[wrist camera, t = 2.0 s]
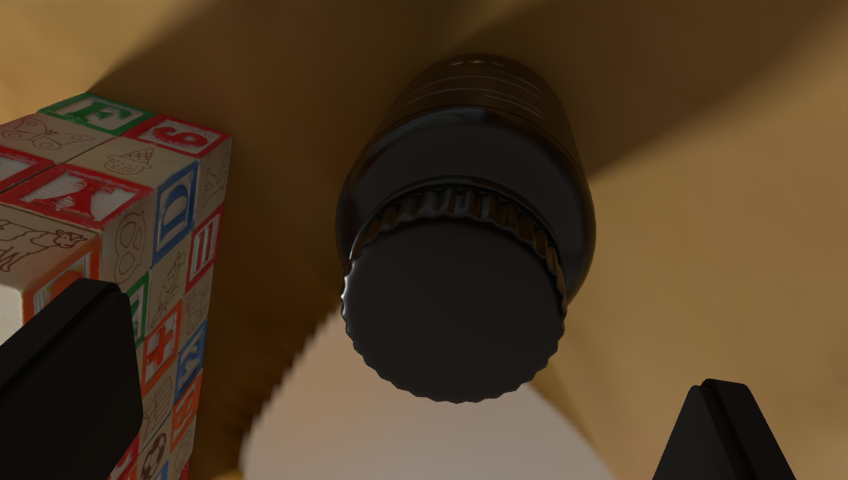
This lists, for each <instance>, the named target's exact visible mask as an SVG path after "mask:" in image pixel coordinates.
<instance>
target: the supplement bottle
mask: <svg viewBox="0 0 848 480" xmlns="http://www.w3.org/2000/svg"><path fill="white" fill-rule="evenodd" d="M335 232H336V243H337V248H338V253H339V256H340V259H341V263H342V266H343V268H344V270H345V271H344V274H343V280H344V284H343V286H342V288H341V290H340V298H341V301H342V303H343V305H342V309H341V315H342V317H343V319H344V320H345V322H346V333H347V334H348V336H349V337H350V338H351V339H352V340H353V346H354V349H355V350H356V351H357V352H358V353H359V354H360V355H362V356H363V358H364V361H365V363H366V365H368V366H369V367H371V368H373V369H374V370H376V372H377V373H378V375H379V376H380V378H382V379H385V380H387V381H390V382H391V383H392V384H393V385H394V386H395V387H396V388H398V389H401V390H406V391H409V392H410V393H412V394H413V395H414V396H416V397H427V398H429V399H431V400H433V401H435V402H441V401H449V402H452V403H455V404H458V403H463V402H466V401H468V402H475V403H477V402H480V401H482V400H484V399H489V398H491V399H492V398H493V399H494V398H498V397H500V396H501V395H502V394H504V393H507V392H512V391H516V390H517V389H518V388H519V387H520V385H521V384H523V383H526V382H529V381H531V380H532V379H533V378H534V376H535V374H536V372H538V371H540V370H542V369H544V368H545V367H546V366H547V363H548V359H549V358H550V357H551V356H552V355H554V354H555V353H556V352H557V350H558V341H559V340H560V339H561V337H562V336H563V334H564V332H565V324H564V319H565V317H566V314H567V306H568V305H569V304H570V303H571V301H572V300H573V299H574V297H575V296H576V295H577V293H578V292H579V290H580V288H581V287H582V285H583V283H584V281H585V279H586V277H587V274H588V272H589V269H590V266H591V263H592V260H593V255H594V251H595V243H596V220H595V212H594V205H593V201H592V197H591V193H590V189H589V186H588V183H587V179H586V176H585V173H584V169H583V166H582V163H581V160H580V156H579V153H578V150H577V147H576V143H575V140H574V137H573V133H572V130H571V127H570V124H569V121H568V118H567V116H566V113H565V110H564V108H563V106H562V104H561V102H560V100H559V99H558V97H557V96H556V94H555V93H554V91H553V90H552V89H551V88H550V86H549V85H548V84H547V83H546V82H545V81H544V80H543V79H542V78H541V77H540V76H539V75H538V74H536V73H535V72H534V71H532V70H531V69H529V68H528V67H526V66H524V65H522V64H521V63H519V62H516V61H514V60H511V59H508V58H505V57H502V56H497V55H492V54H465V55H459V56H455V57H451V58H448V59H445V60H443V61H440V62H438V63H436V64H434V65H432V66H431V67H429V68H427V69H426V70H424V71H423V72H421V73H420V74H419V75H418V76H417V77H415V78H414V79H413V80H412V81H411V82H410V83H409V84H408V85H407V86H406V87H405V89H404V90H403V91H402V93H401V94H400V95H399V96H398V98H397V99H396V101H395V102H394V104H393V105H392V107H391V108H390V110H389V111H388V113H387V114H386V116H385V117H384V119H383V120H382V121H381V123H380V124H379V126H378V127H377V129H376V130H375V132H374V133H373V135H372V136H371V138H370V139H369V141H368V142H367V144H366V145H365V147H364V148H363V150H362V151H361V153H360V154H359V156H358V158H357V160H356V161H355V163H354V164H353V166H352V168H351V169H350V171H349V173H348V175H347V177H346V179H345V182H344V184H343V187H342V190H341V192H340V195H339V200H338V204H337V210H336V221H335Z"/></svg>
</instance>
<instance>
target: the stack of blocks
mask: <svg viewBox="0 0 848 480" xmlns="http://www.w3.org/2000/svg"><path fill="white" fill-rule="evenodd" d="M231 148H232V135H230V134H227V133H224V132H220V131H217V130H213V129H210V128H207V127H204V126H200V125H197V124H193V123H190V122H187V121H183V120H180V119H176V118H173V117H169V116H166V115H163V114H155V113H152V112H149V111H145V110H142V109H139V108H135V107H132V106H129V105H125V104H122V103H119V102H116V101H112V100H109V99H106V98H102V97H99V96H96V95H93V94H90V93H83V94H80V95H77V96H74V97H71V98H68V99H66V100H63V101H60V102H57V103H55V104H52V105H50V106H47V107H45V108H42V109H40V110H38V111H37V112H36V113H35V114H31V115H27V116H25V117H22V118H19V119H16V120H13V121H11V122H8V123H5V124H3V125H0V345H2V344H3V343H4V342H5V341H6V340H7V339H8V338H10V337H11V336H12V335H13V334H14V333H15V332H16V331H18V330H19V329H20V328H21V327H22V326H23V325H24V324H26V323H27V322H28V321H29V320H30V319H31V318H32V317H34V316H35V315H36V314H37V313H38V312H39V311H40V310H42V309H43V308H44V307H45V306H46V305H47V304H48V303H50V302H51V301H52V300H53V299H54V298H55V297H56V296H57V295H59V294H60V293H61V292H62V291H63V290H64V289H65V288H67V287H68V286H69V285H70V284H71V283H72V282H73V281H75V280H77V279H78V278H89V279H95V280H102V281H108V282H114V283H116V284H118V285H119V287H120V289H121V293H125V294H127V295H128V296H129V299H130V305H131V313H132V322H133V330H134V338H135V346H136V355H137V363H138V371H139V379H140V387H141V396H142V404H143V422H142V425H141V428H140V431H139V433H138V434H137V436H136V438H135V439H134V440H133V442H132V443H131V445H130V446H129V448H128V449H127V451H126V452H125V454H124V455H123V456H122V458H121V459H120V461H119V462H118V464H117V465H116V467H115V468H114V470H113V471H112V472H111V474H110V475H109V477H108V478H107V480H188V471H189V460H190V455H191V453H192V450H193V443H194V435H195V426H196V418H197V415H196V412H197V410H198V404H199V396H200V389H201V382H202V373H203V368H202V366H201V365H202V361H203V353H204V345H205V337H206V329H207V322H208V319H207V314H208V309H209V302H210V293H211V285H212V277H213V268H214V262H215V261H216V258H217V250H218V243H219V234H220V227H221V220H222V212H223V204H224V198H225V193H226V186H227V179H228V171H229V164H230V156H231Z"/></svg>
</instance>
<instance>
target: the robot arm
mask: <svg viewBox="0 0 848 480" xmlns="http://www.w3.org/2000/svg"><path fill="white" fill-rule="evenodd" d="M142 422H143V404H142V396H141V387H140V379H139V371H138V363H137V355H136V346H135V338H134V330H133V322H132V313H131V305H130V299H129V296H128V295H127V294H125V293H121V289H120V287H119V285H118V284H116V283H114V282H108V281H102V280H95V279H89V278H78V279H77V280H75V281H73V282H72V283H71V284H70V285H69V286H68V287H67V288H65V289H64V290H63V291H62V292H61V293H60V294H59V295H57V296H56V297H55V298H54V299H53V300H52V301H51V302H50V303H48V304H47V305H46V306H45V307H44V308H43V309H42V310H40V311H39V312H38V313H37V314H36V315H35V316H34V317H32V318H31V319H30V320H29V321H28V322H27V323H26V324H24V325H23V326H22V327H21V328H20V329H19V330H18V331H16V332H15V333H14V334H13V335H12V336H11V337H10V338H8V339H7V340H6V341H5V342H4V343H3V344H2V345H0V480H107V478H108V477H109V475H110V474H111V472H112V471H113V470H114V468H115V467H116V465H117V464H118V462H119V461H120V459H121V458H122V456H123V455H124V454H125V452H126V451H127V449H128V448H129V446H130V445H131V443H132V442H133V440H134V439H135V438H136V436H137V434H138V433H139V431H140V428H141V425H142ZM652 480H796V478H795V476H794V474H793V472H792V470H791V469H790V467H789V465H788V463H787V461H786V459H785V457H784V455H783V453H782V451H781V449H780V447H779V445H778V443H777V441H776V439H775V438H774V436H773V434H772V432H771V430H770V428H769V426H768V424H767V422H766V420H765V418H764V416H763V414H762V412H761V410H760V409H759V407H758V405H757V403H756V401H755V399H754V397H753V395H752V393H751V391H750V390H749V388H748V387H747V386H746V385H744V384H741V383H735V382H728V381H722V380H716V379H710V378H709V379H706V380H705V381H704V382H703V383H702V384H701V386H696V385H695V386H692V387H691V388H690V390H689V392H688V394H687V397H686V399H685V402H684V404H683V407H682V409H681V411H680V414H679V416H678V419H677V421H676V423H675V426H674V428H673V431H672V433H671V436H670V438H669V440H668V443H667V445H666V448H665V450H664V453H663V455H662V457H661V460H660V462H659V465H658V467H657V470H656V472H655V474H654V477H653V479H652Z"/></svg>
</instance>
